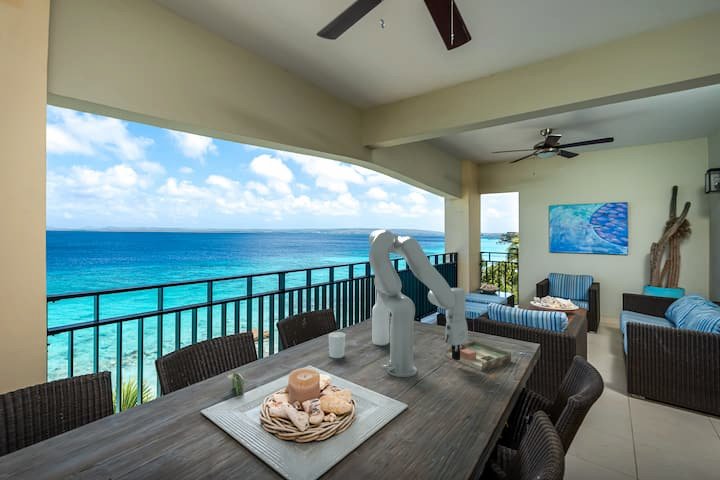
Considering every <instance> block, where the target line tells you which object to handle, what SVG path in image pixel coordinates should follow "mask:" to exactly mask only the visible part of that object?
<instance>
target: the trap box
mask: <svg viewBox="0 0 720 480" xmlns="http://www.w3.org/2000/svg"><path fill="white" fill-rule="evenodd" d="M463 349H470V350H473V351H475V352H476V359H473V360H470V361H468V360H465V359H463V358H460V360H458V361H457V360H454V359H452V350H451V348H446V349H445V357H446V358H449V359H450V360H453V361H456V362H458V363H460V364H463V365H466V366H468V367H471V368H473V369H475V370H478V371H480V372H486V371H488V370H493V369H495V368H497V367H500V366H502V365H505V364H509V363H511V362H512V352H510V351H507V350H504V349H501V348H497V347H494V346H491V345H488V344H486V343H485V344H484V343H481V342H479V341H475V340H472V341H471V342H466V343H465V344H463V345H462V347H461V350H463Z"/></svg>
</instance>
